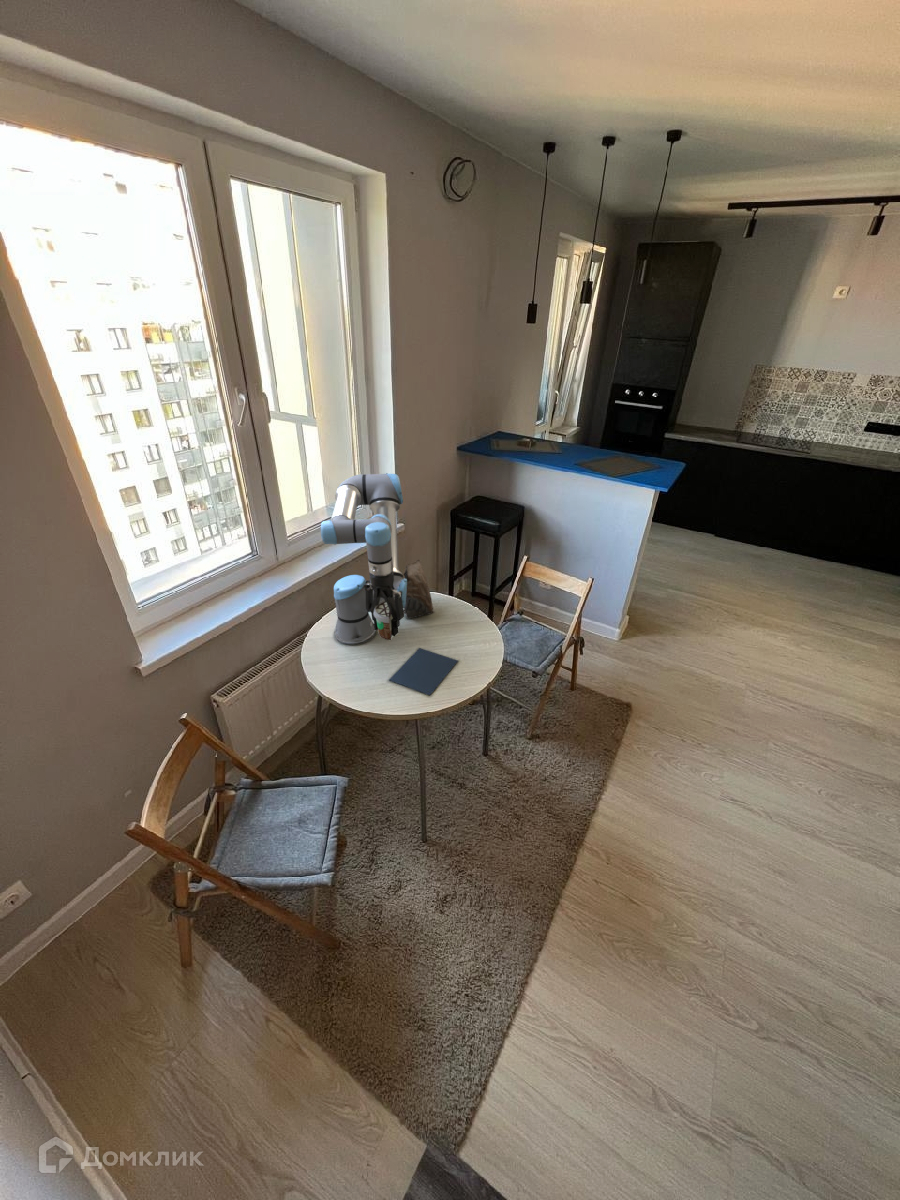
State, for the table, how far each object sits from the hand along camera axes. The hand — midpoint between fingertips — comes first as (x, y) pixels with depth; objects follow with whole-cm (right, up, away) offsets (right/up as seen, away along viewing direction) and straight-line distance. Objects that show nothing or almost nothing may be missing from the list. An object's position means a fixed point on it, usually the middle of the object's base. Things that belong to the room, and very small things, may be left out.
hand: (386, 631), depth 167 cm
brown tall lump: (+8, +6, +36) cm, 37 cm away
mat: (+13, -14, +4) cm, 19 cm away
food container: (-1, 0, +1) cm, 1 cm away
